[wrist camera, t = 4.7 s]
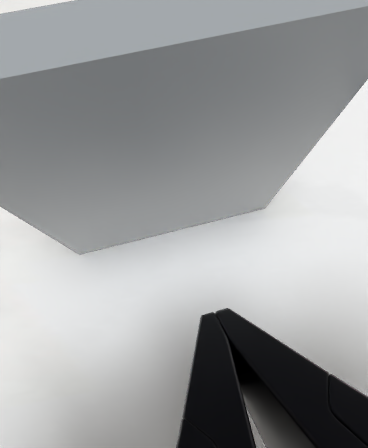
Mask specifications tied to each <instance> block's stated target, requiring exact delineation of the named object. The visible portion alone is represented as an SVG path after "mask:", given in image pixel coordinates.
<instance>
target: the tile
mask: <svg viewBox="0 0 368 448" xmlns="http://www.w3.org/2000/svg"><path fill="white" fill-rule="evenodd" d="M367 79H368V0H75V1H69V2H64V3H58V4H52V5H47V6H41V7H36V8H30V9H25V10H19V11H14V12H8V13H3V14H0V207H2V208H3V209H5V210H7V211H8V212H10V213H12V214H13V215H15V216H17V217H18V218H20V219H22V220H23V221H25V222H26V223H28V224H30V225H31V226H33V227H35V228H36V229H38V230H40V231H41V232H43V233H45V234H46V235H48V236H50V237H51V238H53V239H54V240H56V241H58V242H59V243H61V244H63V245H64V246H66V247H68V248H69V249H71V250H73V251H74V252H76V253H78V254H79V255H80V254H84V253H88V252H92V251H96V250H100V249H104V248H108V247H112V246H116V245H120V244H124V243H128V242H132V241H136V240H140V239H144V238H148V237H152V236H156V235H160V234H164V233H169V232H173V231H177V230H181V229H185V228H189V227H193V226H197V225H201V224H205V223H209V222H213V221H217V220H221V219H225V218H229V217H233V216H237V215H241V214H245V213H249V212H253V211H257V210H261V209H265V208H266V206H267V205H268V204H269V203H270V201H271V200H272V199H273V197H274V196H275V195H276V194H277V192H278V191H279V190H280V189H281V187H282V186H283V185H284V184H285V182H286V181H287V180H288V179H289V177H290V176H291V175H292V174H293V172H294V171H295V170H296V169H297V167H298V166H299V165H300V164H301V162H302V161H303V160H304V159H305V157H306V156H307V155H308V154H309V152H310V151H311V150H312V148H313V147H314V146H315V145H316V143H317V142H318V141H319V140H320V138H321V137H322V136H323V135H324V133H325V132H326V131H327V130H328V128H329V127H330V126H331V125H332V123H333V122H334V121H335V120H336V118H337V117H338V116H339V115H340V113H341V112H342V111H343V110H344V108H345V107H346V106H347V105H348V103H349V102H350V101H351V99H352V98H353V97H354V96H355V94H356V93H357V92H358V91H359V89H360V88H361V87H362V86H363V84H364V83H365V82H366V81H367Z"/></svg>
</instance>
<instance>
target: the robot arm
mask: <svg viewBox="0 0 368 448" xmlns="http://www.w3.org/2000/svg"><path fill="white" fill-rule="evenodd" d="M245 405H246V406H245ZM246 407H247V409H248V411H249V413H250V415H251V417H252V419H253V421H254V423H255V425H256V427H257V429H258V431H259V433H260V436H261V438H262V440H263V442H264V444H265V446H266V448H368V396H366V395H364V394H363V393H361V392H359V391H358V390H356V389H354V388H353V387H351V386H350V385H348V384H346V383H345V382H343V381H342V380H340V379H338V378H337V377H335V376H334V375H332V374H330V375H329V373H328V372H327V371H325V370H324V369H322V368H321V367H319V366H317V365H316V364H314V363H313V362H311V361H310V360H308V359H307V358H305V357H303V356H302V355H300V354H299V353H297V352H296V351H294V350H293V349H291V348H289V347H288V346H286V345H285V344H283V343H282V342H280V341H279V340H277V339H276V338H274V337H272V336H271V335H269V334H268V333H266V332H265V331H263V330H262V329H260V328H258V327H257V326H255V325H254V324H252V323H251V322H249V321H248V320H246V319H245V318H243V317H241V316H240V315H238V314H237V313H235V312H234V311H232V310H231V309H228V308H226V309H223V310H219V311H216V313H213V312H212V313H208V314H205V315H202V316H201V318H200V324H199V329H198V335H197V340H196V346H195V351H194V357H193V362H192V368H191V373H190V379H189V384H188V390H187V395H186V401H185V406H184V412H183V419H182V421H181V426H180V431H179V437H178V441H177V446H176V448H256V445H255V441H254V437H253V433H252V429H251V426H250V422H249V418H248V414H247V410H246Z"/></svg>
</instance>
